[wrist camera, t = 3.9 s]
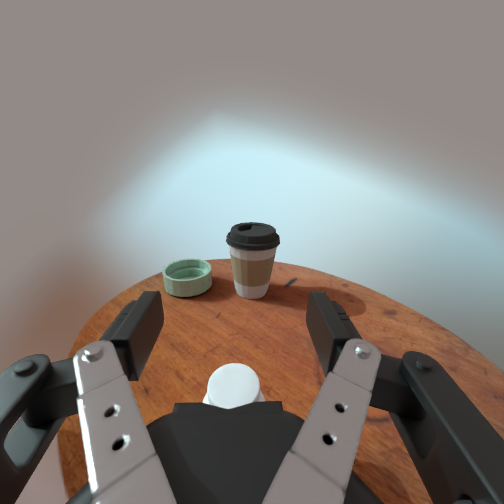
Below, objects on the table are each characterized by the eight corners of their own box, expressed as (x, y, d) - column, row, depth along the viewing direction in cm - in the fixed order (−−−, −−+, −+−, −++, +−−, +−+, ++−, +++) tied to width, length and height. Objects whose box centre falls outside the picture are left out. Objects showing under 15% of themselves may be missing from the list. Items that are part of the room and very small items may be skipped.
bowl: (178, 305, 50) (175, 286, 48) (157, 283, 57) (154, 267, 55) (221, 287, 57) (220, 270, 55) (197, 270, 64) (196, 255, 62)
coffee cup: (243, 273, 63) (244, 218, 57) (283, 286, 58) (289, 226, 52) (216, 294, 54) (214, 230, 48) (261, 311, 49) (264, 242, 43)
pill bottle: (246, 415, 30) (248, 347, 25) (274, 468, 25) (282, 396, 20) (197, 442, 27) (189, 371, 22) (218, 509, 22) (214, 435, 18)
